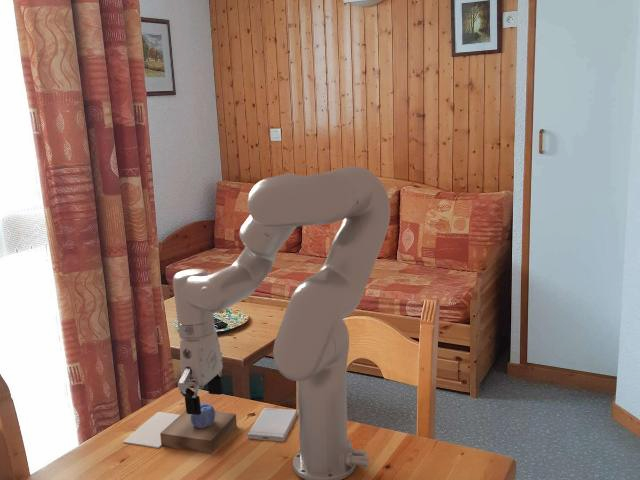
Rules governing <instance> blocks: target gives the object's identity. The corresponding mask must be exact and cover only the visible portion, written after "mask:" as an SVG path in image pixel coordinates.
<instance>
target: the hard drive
mask: <svg viewBox="0 0 640 480" xmlns="http://www.w3.org/2000/svg"><path fill="white" fill-rule="evenodd" d="M297 417H298V409H288V408H286V409H285V408H273V407H272V408H271V407H264V408H263V409H262V411H261V412H260V413H259V416H258V417H257V419H256V420H255V422H254V423H253V425H252V426H251V428H250V430H249V432H248V433H247V437H246V438H247V439H248V440H261V441H274V442H285V440H286V438H287V436H288V434H289V431H290V430H291V428H292V426H293V424H294V422H295V421H296V418H297Z"/></svg>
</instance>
